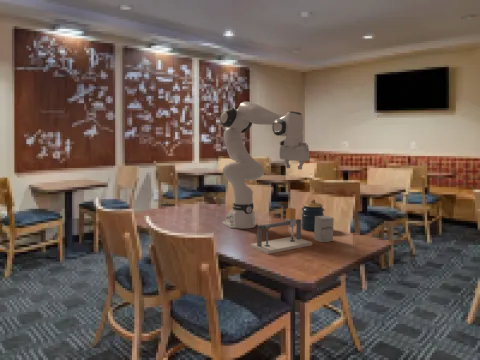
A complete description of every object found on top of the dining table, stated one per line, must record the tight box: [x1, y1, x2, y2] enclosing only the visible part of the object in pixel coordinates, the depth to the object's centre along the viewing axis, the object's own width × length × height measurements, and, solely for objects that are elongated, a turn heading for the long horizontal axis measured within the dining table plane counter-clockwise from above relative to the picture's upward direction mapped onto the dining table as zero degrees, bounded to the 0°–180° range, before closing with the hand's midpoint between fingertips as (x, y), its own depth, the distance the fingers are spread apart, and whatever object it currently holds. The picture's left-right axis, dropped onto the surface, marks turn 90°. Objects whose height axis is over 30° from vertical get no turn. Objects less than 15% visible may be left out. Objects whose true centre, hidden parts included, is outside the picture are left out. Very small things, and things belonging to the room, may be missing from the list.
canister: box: [301, 198, 325, 232], centre depth 233 cm, size 13×13×18 cm
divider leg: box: [284, 207, 297, 240], centre depth 201 cm, size 4×4×16 cm
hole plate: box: [249, 218, 313, 255], centre depth 197 cm, size 14×28×12 cm, turn 123°
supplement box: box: [313, 215, 335, 243], centre depth 207 cm, size 7×7×13 cm
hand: (293, 168), depth 210 cm, fingers open, 8 cm apart
